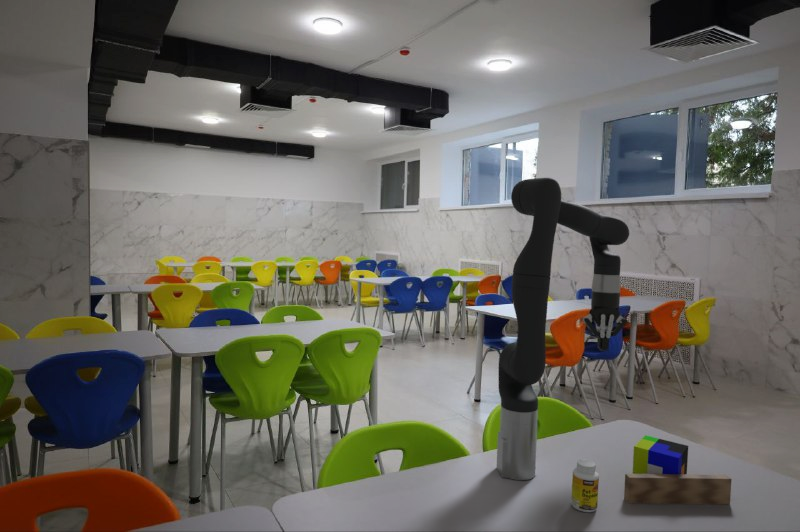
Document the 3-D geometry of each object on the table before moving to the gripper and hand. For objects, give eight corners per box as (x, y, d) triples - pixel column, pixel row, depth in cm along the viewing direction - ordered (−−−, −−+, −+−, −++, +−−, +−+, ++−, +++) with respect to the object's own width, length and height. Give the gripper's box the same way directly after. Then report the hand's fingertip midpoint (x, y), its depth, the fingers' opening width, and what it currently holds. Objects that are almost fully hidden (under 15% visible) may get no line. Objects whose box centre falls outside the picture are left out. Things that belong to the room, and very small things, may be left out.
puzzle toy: (676, 499, 123) (678, 458, 122) (631, 485, 129) (633, 446, 129) (686, 485, 130) (688, 445, 130) (643, 472, 137) (645, 435, 136)
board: (628, 503, 120) (629, 477, 120) (624, 498, 122) (625, 473, 122) (729, 504, 121) (731, 478, 121) (724, 499, 123) (725, 474, 123)
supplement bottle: (580, 514, 115) (582, 469, 114) (566, 502, 120) (568, 458, 119) (602, 512, 116) (604, 467, 115) (588, 500, 121) (590, 456, 121)
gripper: (588, 291, 145) (585, 352, 146) (634, 292, 146) (631, 353, 146) (578, 288, 153) (575, 347, 153) (622, 289, 153) (619, 348, 154)
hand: (602, 350), depth 150 cm, fingers closed
